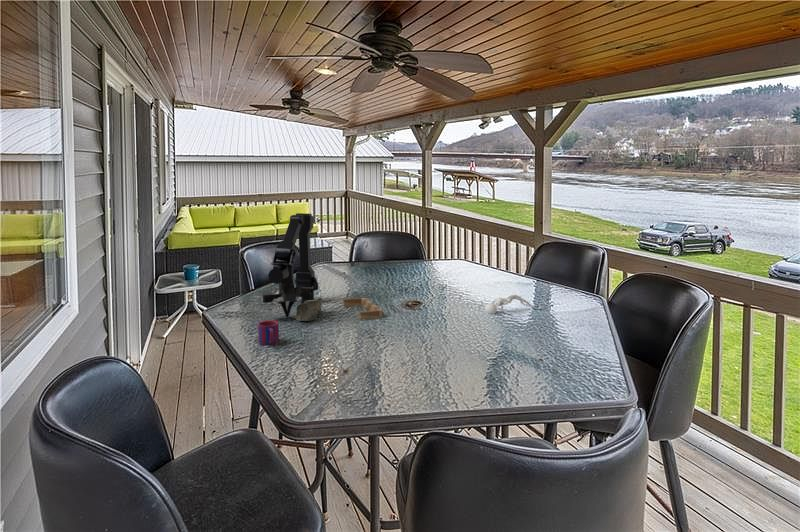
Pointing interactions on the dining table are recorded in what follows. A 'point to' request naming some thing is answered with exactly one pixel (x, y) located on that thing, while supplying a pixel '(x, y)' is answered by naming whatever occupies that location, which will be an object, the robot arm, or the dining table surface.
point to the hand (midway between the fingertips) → (286, 316)
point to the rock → (308, 310)
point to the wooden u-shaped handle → (373, 309)
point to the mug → (268, 332)
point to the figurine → (499, 301)
